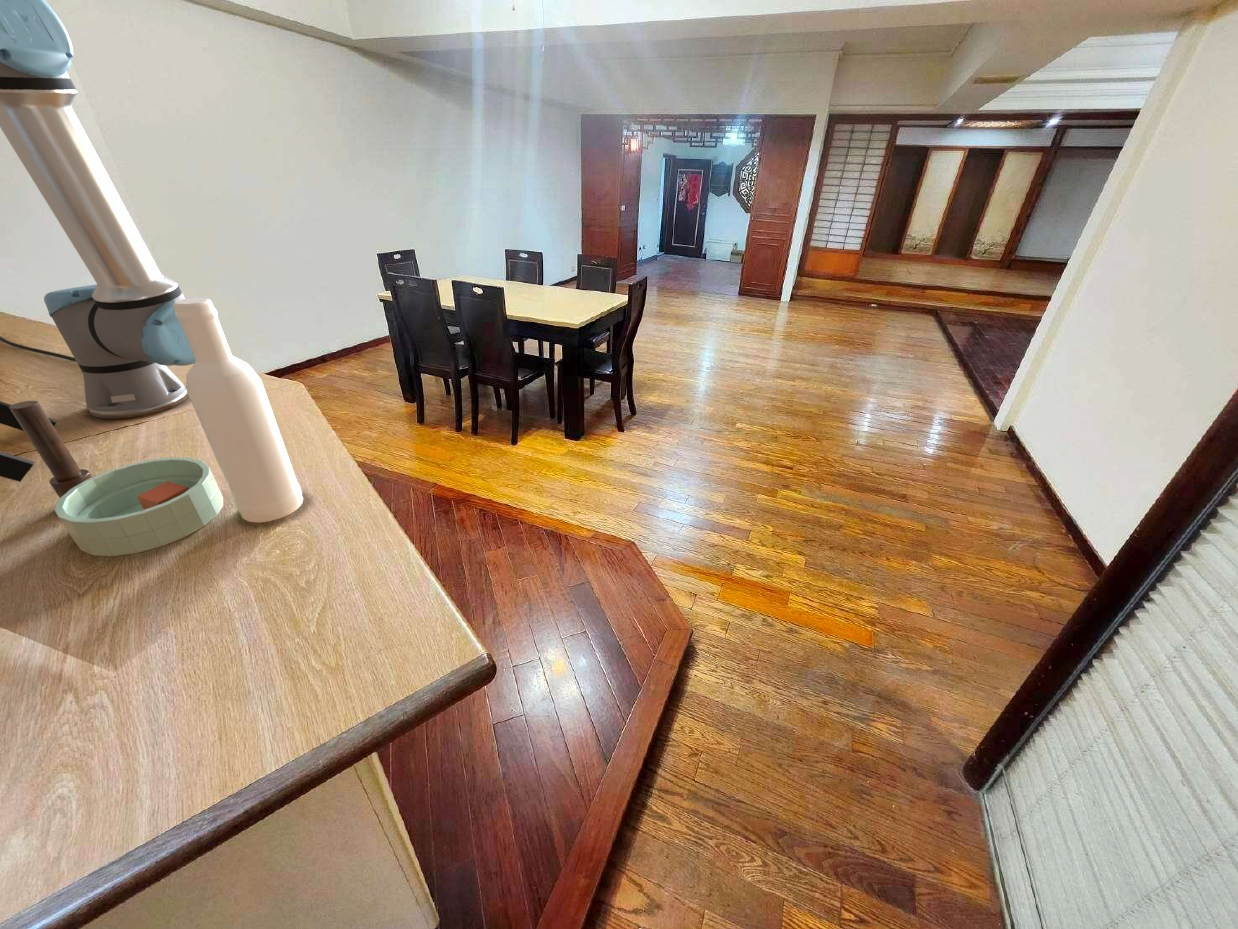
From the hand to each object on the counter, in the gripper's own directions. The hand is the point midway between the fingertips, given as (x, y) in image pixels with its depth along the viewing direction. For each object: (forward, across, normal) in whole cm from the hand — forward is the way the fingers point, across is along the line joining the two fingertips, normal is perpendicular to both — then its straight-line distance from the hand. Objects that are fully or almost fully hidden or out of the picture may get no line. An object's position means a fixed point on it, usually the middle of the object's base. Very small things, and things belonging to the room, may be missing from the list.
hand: (40, 449), depth 66 cm
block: (+14, +10, +2) cm, 18 cm away
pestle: (+8, 0, -6) cm, 10 cm away
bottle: (+23, +15, +9) cm, 29 cm away
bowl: (+13, +10, 0) cm, 17 cm away
